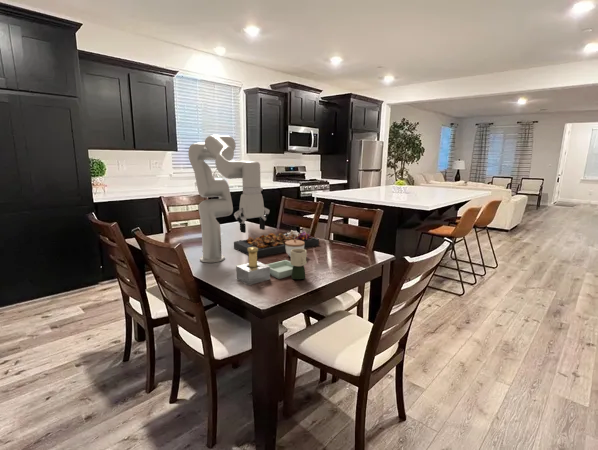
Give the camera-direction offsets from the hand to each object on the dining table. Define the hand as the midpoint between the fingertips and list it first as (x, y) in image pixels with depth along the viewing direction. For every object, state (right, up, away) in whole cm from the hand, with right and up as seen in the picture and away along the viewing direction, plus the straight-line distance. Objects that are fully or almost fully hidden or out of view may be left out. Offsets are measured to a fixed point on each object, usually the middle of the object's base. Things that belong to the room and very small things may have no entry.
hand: (252, 230), depth 148 cm
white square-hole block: (0, -22, +5) cm, 22 cm away
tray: (+12, -20, +14) cm, 27 cm away
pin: (0, -22, +5) cm, 22 cm away
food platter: (+7, -11, +59) cm, 60 cm away
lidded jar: (+18, -15, +40) cm, 46 cm away
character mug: (+20, -22, +6) cm, 30 cm away
